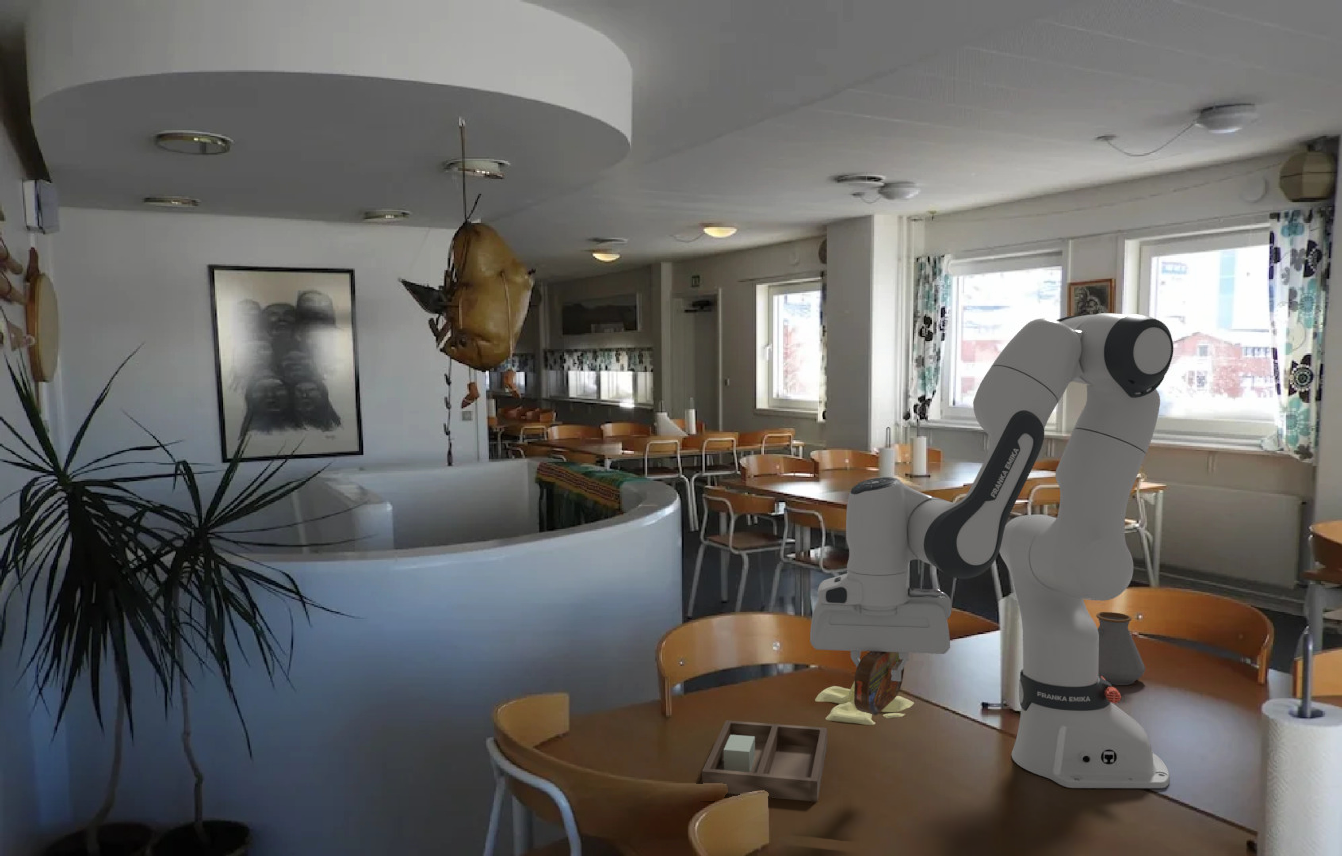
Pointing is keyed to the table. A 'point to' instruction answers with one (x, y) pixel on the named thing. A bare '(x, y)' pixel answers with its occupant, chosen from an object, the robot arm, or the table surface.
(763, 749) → the caddy
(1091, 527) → the robot arm
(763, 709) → the table surface
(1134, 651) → the coffee pot
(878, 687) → the tin
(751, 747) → the sage block
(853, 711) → the cloth
